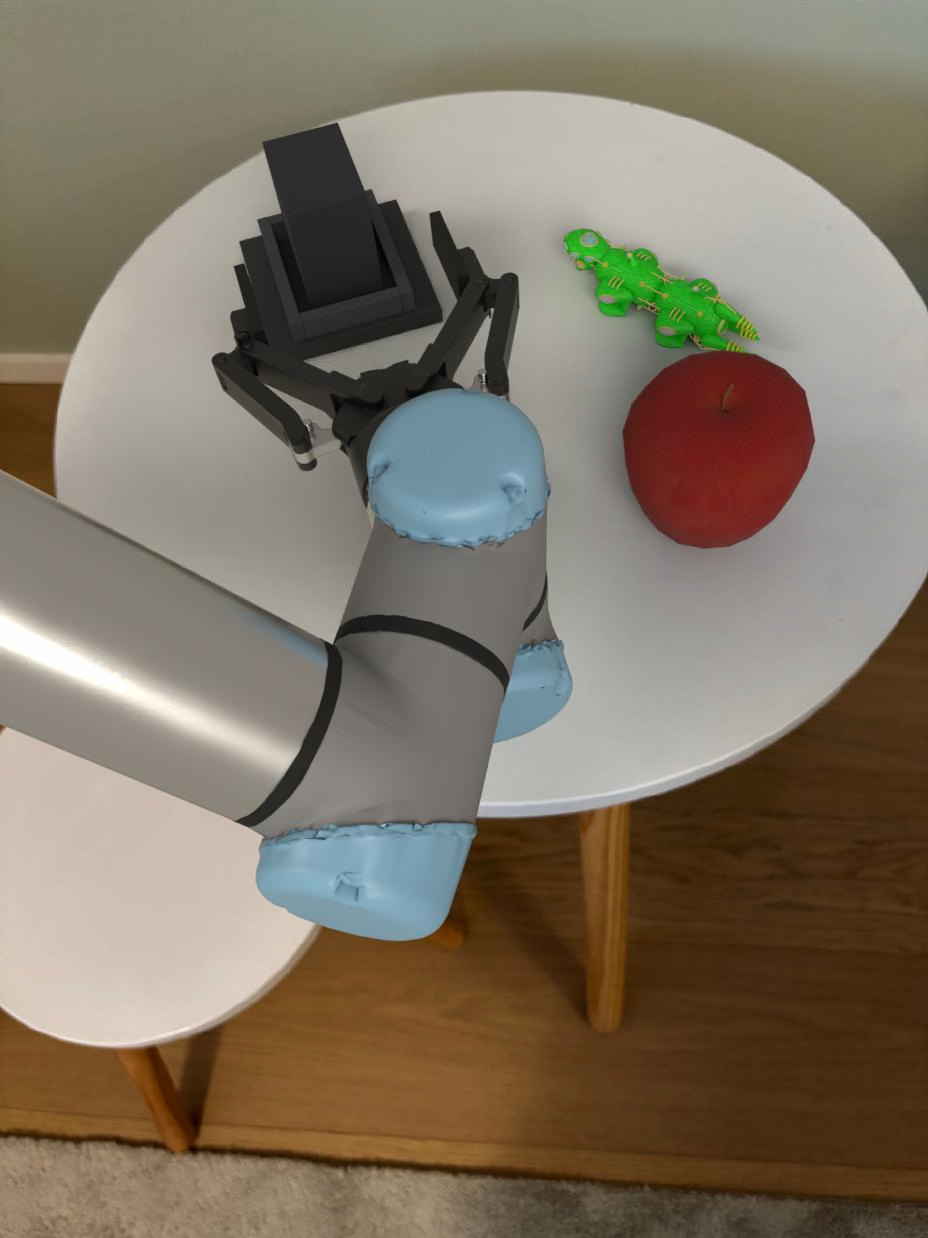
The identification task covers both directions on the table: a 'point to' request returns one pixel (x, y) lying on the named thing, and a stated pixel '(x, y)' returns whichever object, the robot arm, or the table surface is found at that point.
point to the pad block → (325, 215)
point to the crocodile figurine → (657, 294)
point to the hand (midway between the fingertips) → (340, 253)
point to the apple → (717, 446)
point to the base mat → (350, 320)
